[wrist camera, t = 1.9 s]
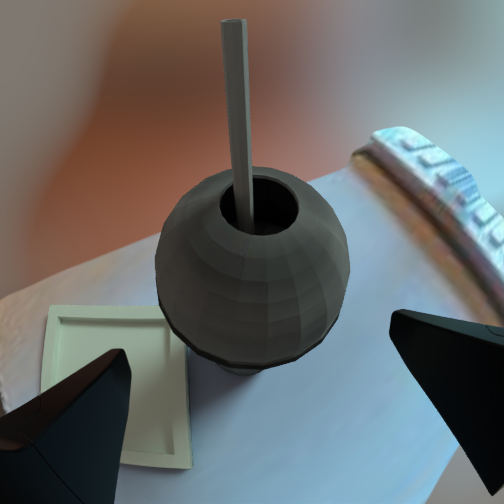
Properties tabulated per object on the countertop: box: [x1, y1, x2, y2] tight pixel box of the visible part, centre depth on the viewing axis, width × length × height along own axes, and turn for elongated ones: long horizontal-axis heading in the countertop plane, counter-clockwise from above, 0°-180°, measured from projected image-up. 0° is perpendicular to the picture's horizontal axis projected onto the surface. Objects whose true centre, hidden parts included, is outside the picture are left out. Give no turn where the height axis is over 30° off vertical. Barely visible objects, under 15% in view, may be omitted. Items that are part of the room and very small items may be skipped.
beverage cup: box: [155, 19, 350, 376], centre depth 12 cm, size 7×7×20 cm
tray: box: [41, 305, 193, 469], centre depth 18 cm, size 12×12×1 cm
